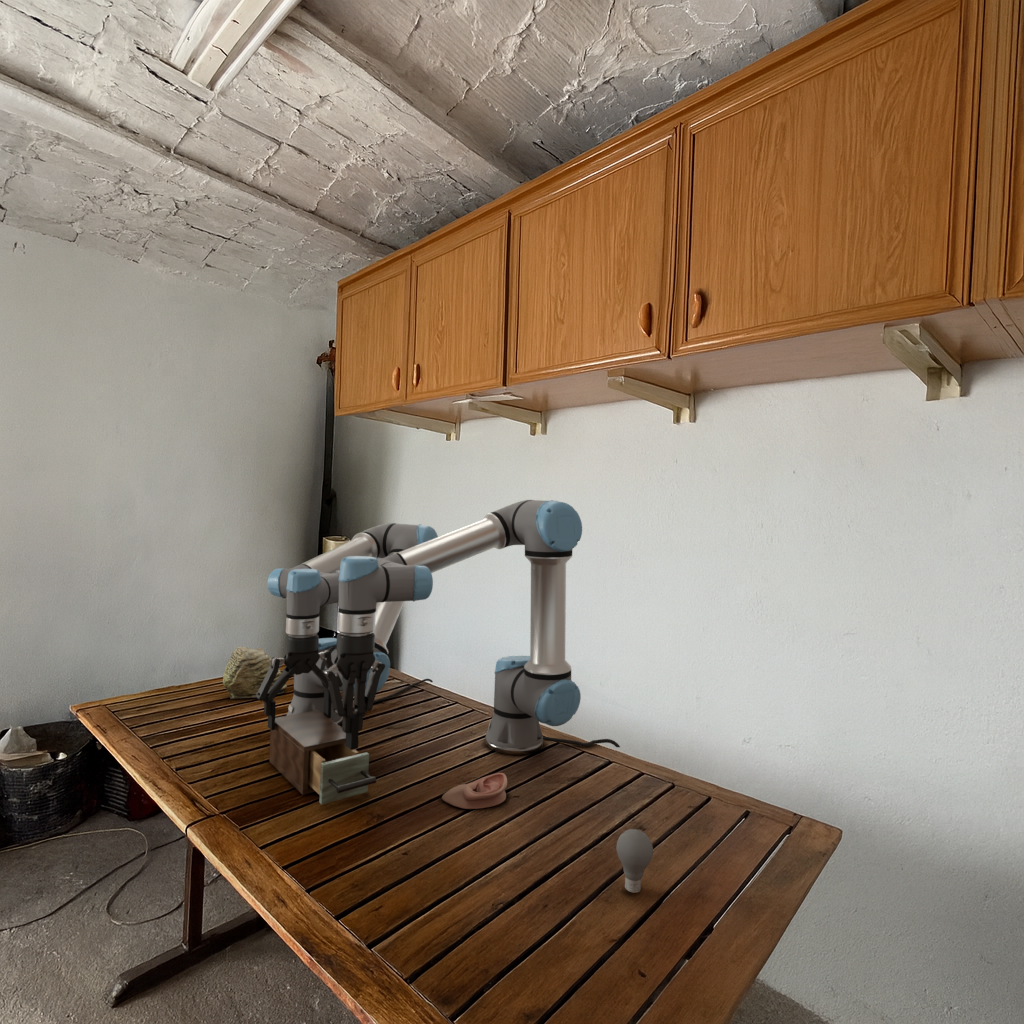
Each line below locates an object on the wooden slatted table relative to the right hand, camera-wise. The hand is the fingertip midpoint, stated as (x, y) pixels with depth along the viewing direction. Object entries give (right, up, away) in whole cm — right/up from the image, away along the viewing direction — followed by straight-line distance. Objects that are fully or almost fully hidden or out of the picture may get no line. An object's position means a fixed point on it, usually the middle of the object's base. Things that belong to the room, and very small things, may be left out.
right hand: (351, 747), depth 130 cm
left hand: (-18, -2, +22) cm, 29 cm away
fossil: (-48, -9, +68) cm, 84 cm away
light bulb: (+53, -15, -24) cm, 60 cm away
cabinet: (-14, -12, +16) cm, 24 cm away
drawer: (-6, -11, +7) cm, 15 cm away
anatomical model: (+25, -14, +7) cm, 29 cm away
